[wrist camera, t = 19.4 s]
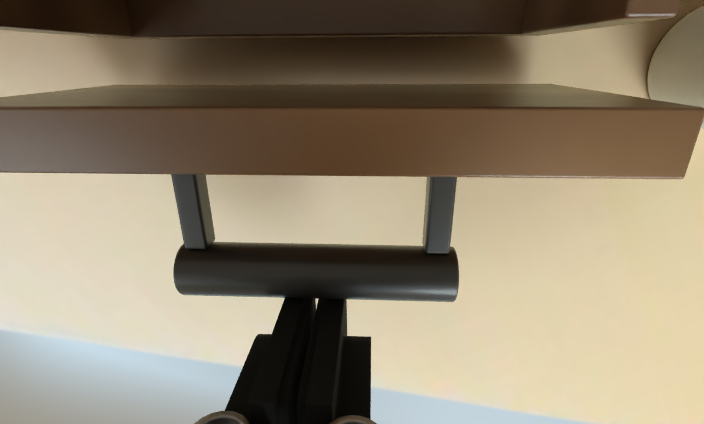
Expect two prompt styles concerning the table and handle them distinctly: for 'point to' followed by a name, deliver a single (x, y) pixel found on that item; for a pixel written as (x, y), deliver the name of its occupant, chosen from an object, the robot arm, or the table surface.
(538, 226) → the table surface
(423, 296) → the drawer
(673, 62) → the marker
